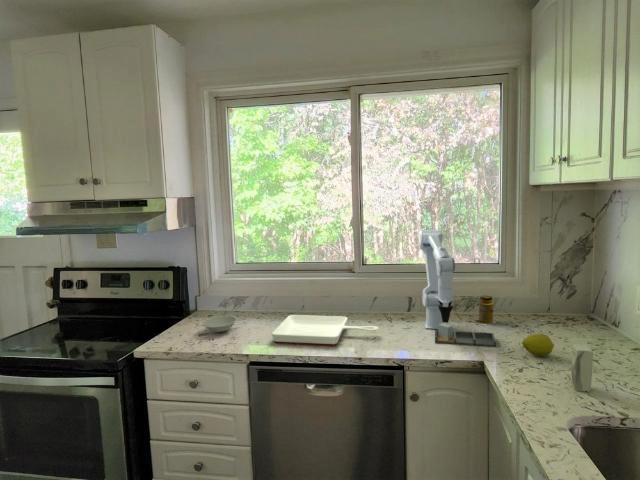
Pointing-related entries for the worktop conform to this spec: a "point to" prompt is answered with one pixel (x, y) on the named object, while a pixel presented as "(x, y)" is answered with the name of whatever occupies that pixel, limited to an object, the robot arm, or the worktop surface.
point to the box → (581, 368)
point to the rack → (468, 338)
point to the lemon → (538, 344)
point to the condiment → (485, 311)
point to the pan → (313, 330)
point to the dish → (220, 323)
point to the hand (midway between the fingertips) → (445, 319)
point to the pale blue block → (445, 331)
